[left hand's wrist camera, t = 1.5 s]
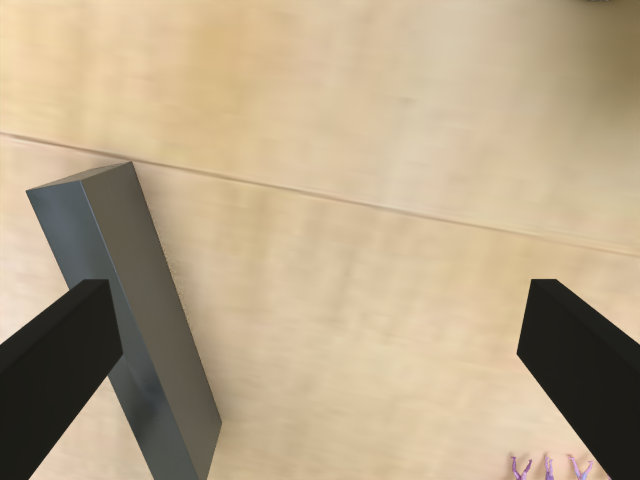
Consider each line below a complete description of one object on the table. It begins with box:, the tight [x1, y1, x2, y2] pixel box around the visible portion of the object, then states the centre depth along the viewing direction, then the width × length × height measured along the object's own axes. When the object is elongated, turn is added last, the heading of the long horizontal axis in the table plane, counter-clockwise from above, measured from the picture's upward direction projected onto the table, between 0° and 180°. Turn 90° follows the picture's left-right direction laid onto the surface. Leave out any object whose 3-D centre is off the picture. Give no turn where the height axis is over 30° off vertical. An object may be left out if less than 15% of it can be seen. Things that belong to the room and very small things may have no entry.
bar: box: [26, 162, 222, 480], centre depth 41 cm, size 34×4×10 cm, turn 11°
